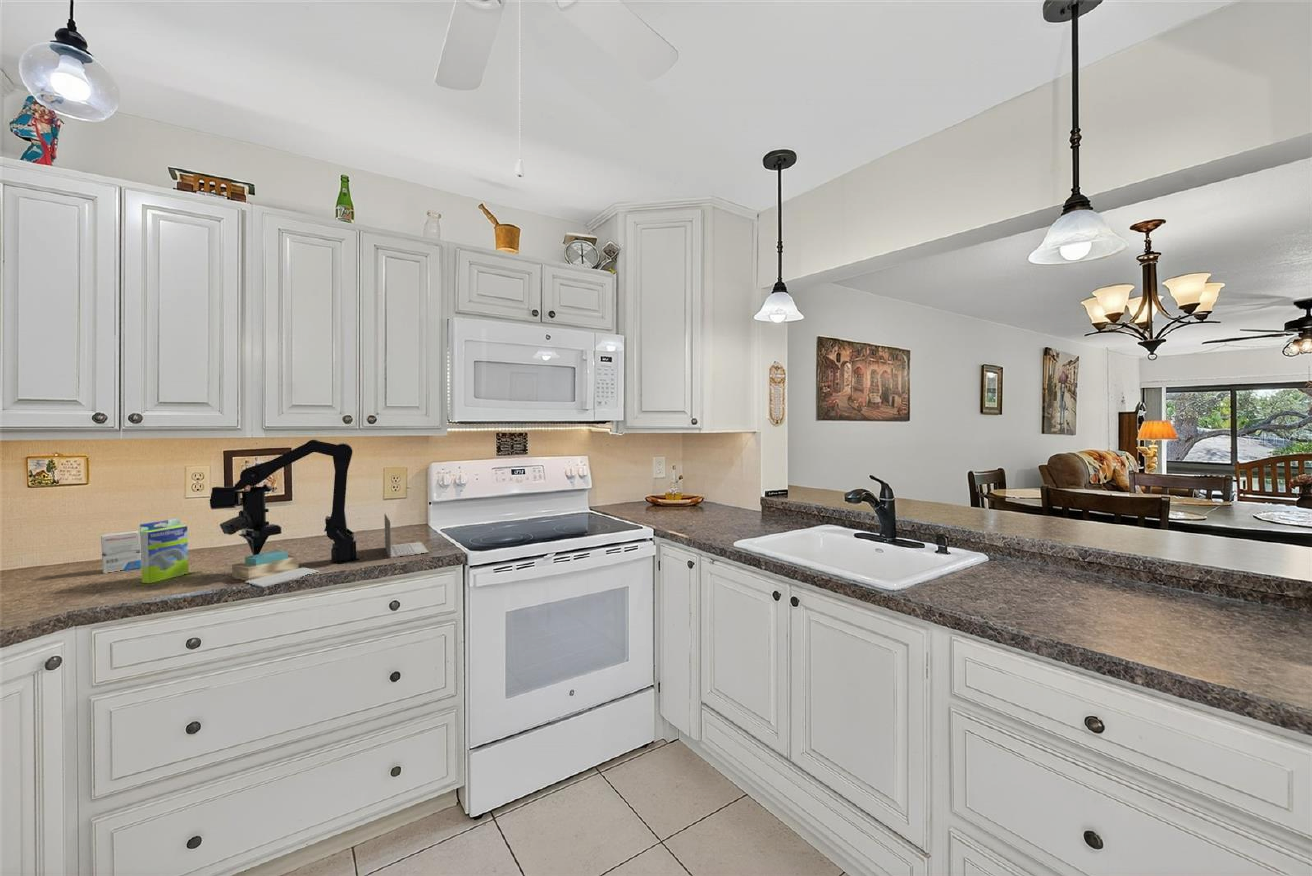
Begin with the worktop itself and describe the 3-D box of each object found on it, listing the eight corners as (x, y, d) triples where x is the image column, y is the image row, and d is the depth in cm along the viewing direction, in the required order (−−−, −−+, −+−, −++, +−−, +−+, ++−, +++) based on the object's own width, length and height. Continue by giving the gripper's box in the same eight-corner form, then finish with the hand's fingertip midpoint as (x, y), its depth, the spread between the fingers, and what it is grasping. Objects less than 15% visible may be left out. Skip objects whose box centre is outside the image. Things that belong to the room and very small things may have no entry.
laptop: (429, 554, 186) (428, 517, 186) (389, 559, 179) (388, 521, 179) (421, 543, 201) (420, 510, 201) (384, 548, 195) (384, 513, 194)
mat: (302, 568, 167) (302, 567, 167) (319, 572, 163) (319, 570, 163) (245, 583, 153) (245, 581, 153) (262, 587, 149) (262, 585, 149)
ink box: (141, 565, 172) (139, 529, 171) (141, 568, 168) (139, 532, 168) (103, 570, 166) (101, 534, 165) (102, 574, 162) (100, 536, 162)
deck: (282, 565, 171) (282, 553, 170) (298, 569, 167) (298, 557, 166) (232, 577, 158) (232, 564, 158) (248, 581, 154) (248, 568, 154)
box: (149, 584, 152) (146, 525, 152) (140, 582, 154) (137, 524, 153) (190, 573, 162) (188, 518, 162) (181, 572, 164) (179, 517, 163)
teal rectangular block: (277, 556, 167) (277, 550, 167) (288, 558, 165) (288, 552, 165) (245, 563, 159) (244, 557, 159) (256, 565, 157) (255, 559, 157)
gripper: (207, 508, 161) (209, 558, 162) (240, 513, 153) (242, 565, 153) (249, 502, 171) (250, 550, 172) (281, 507, 163) (283, 556, 163)
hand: (255, 555), depth 165 cm, fingers closed
